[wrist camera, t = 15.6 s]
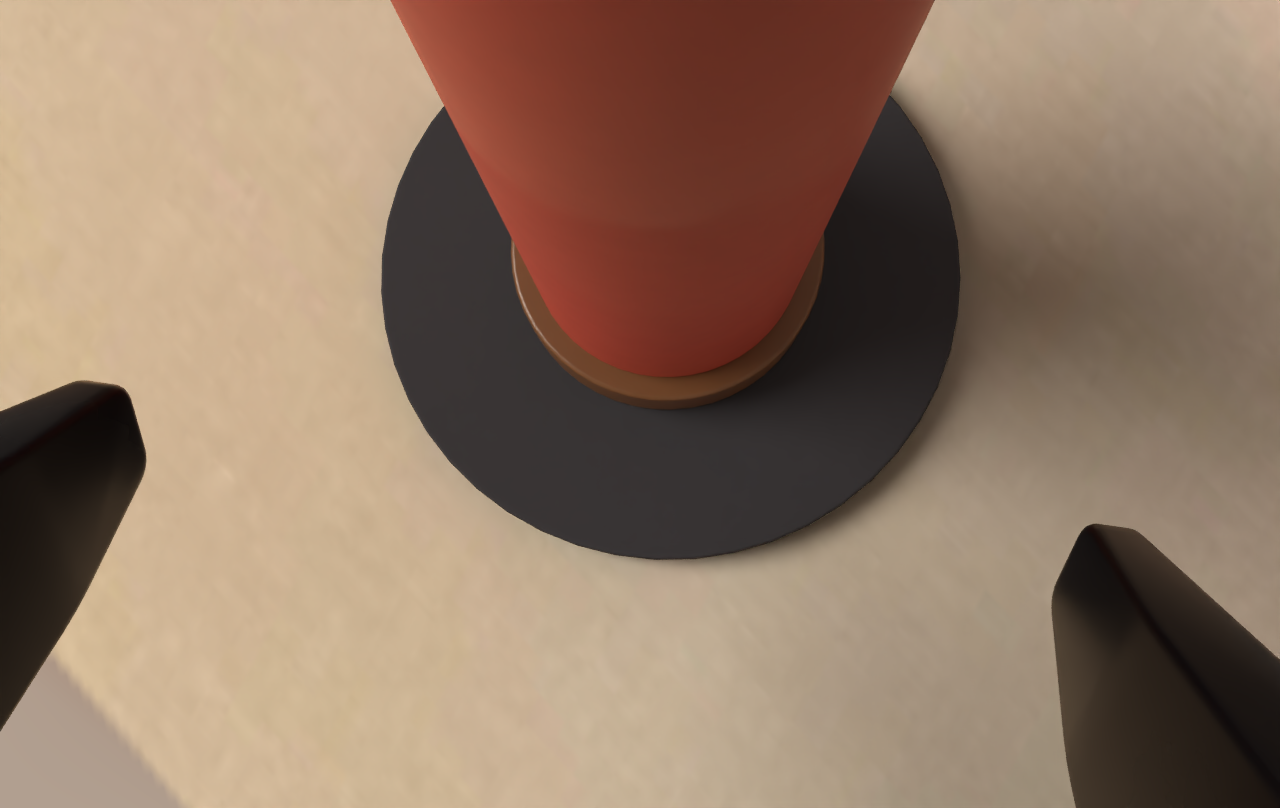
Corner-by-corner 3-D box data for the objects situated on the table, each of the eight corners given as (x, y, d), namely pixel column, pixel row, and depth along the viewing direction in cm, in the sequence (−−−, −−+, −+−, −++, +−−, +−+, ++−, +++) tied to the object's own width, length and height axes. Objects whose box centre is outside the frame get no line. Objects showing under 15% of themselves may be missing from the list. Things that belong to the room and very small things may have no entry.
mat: (490, 644, 18) (485, 646, 18) (318, 117, 20) (309, 106, 19) (1044, 441, 18) (1055, 438, 18) (829, -62, 20) (832, -78, 20)
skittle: (841, 382, 18) (2008, -762, 2) (544, 434, 18) (-303, -348, 2) (785, 102, 19) (1356, -2142, 3) (500, 151, 19) (-343, -1822, 3)
